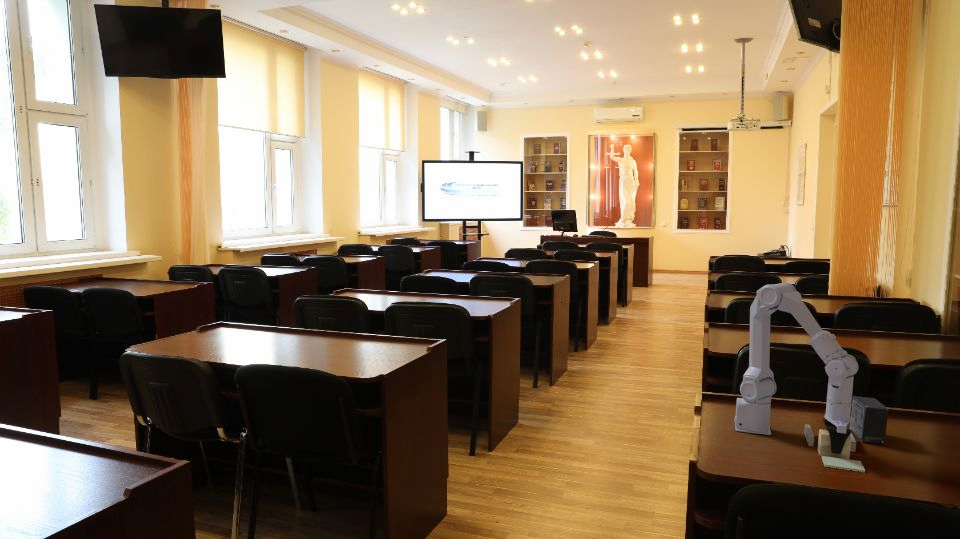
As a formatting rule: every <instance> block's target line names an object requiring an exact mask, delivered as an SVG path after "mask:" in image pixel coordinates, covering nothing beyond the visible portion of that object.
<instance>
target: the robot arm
mask: <svg viewBox="0 0 960 539" xmlns="http://www.w3.org/2000/svg"><path fill="white" fill-rule="evenodd" d="M777 310H778V311H781V312H786V313H789V314H791V315H792V316H793V317H794V319H795V320H796V321H797V323H798V324H799V325H800V326H801V327H802V329H803V330H804V331H805V332H806V333H807V334H808V335H809V337H810V338H809V344H810V345H811V347H812V348H813V349H814V351H815V353H816V354H817V355H818V356H819V358H820V359H821V360H822V361H823V363H824V364H825V366H824V370H825V373H826V374H827V376H828V383H827V393H826V405H825V407H826V408H825V413H824V418H823V419H822V421H823V423H824V425H825V428H826V429H825V430H828V432H829V436H830V444H831V451H832V453H835V454H841V452H842V450H843V447H844V444H845V442H846V440H847V438H848V437H849V436H850V434H851V433H852V432H851V430H849V428H848V429H847V427H848V425H850V422H855V419H854V418H853V417H851V411H852V398H853V390H854V389H853V388H854V375H856V374H857V373H858V371H859V363H858V360H857V359H856V357H855V356H853V355H851V354H848V352H847V350H844V349H843V348H842V346H841V345H840V344H839V342H838V341H837V340H836V339H837V336H836V335H835V334H834V333H831V332H830V331H828V330H823V329H822V327H821V326H820V324H819V323H818V322H817V320H816V319H815V317H814V316H813V314H812V312H811V311H810V309H809V308H808V307H807V305H806V304H805V302H804V301H803V298H802V295H801V293H800V292H799V291H798V290H797V289H796V287H795V286H794V285H793V284H792V283H791V282H790V283H789V282H787V281H785V282H780V283H775V284H773V283H771V284H766V285H763V286H762V287H760V288H759V289H758V290H756V296H755V297H754V300H753V301H752V302H751V305H750V308H749V346H748V347H749V355H748V356H749V357H748V361H749V362H748V368H747V369H746V370H745V372H744V374H743V375H742V382H741V384H740V385H739V392H740V395H741V396H742V397H737V398H736V404H735V416H734V419H733V420H734V421H733V422H734V426H735V431H736V432H742V433H752V434H758V435H759V434H760V435H766V436H771V435H772V431H771V427H770V418H771V417H770V416H771V405H772V404H771V402H772V396H774V394H776V392H777V384H776V382H775V378H774V374H775V373H774V372H773V371H772V369H771V367H770V352H771V350H770V349H771V346H770V345H771V315H772V314H773V313H775V312H776V311H777Z"/></svg>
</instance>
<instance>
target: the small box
mask: <svg viewBox="0 0 960 539" xmlns="http://www.w3.org/2000/svg"><path fill="white" fill-rule="evenodd" d="M888 416H889V408H888V407H887V406H885V405H884V404H882V403H881V402H880V401H879V400H878V399H876V398H874V397H865V396H858V395H857V396H856V395H852V402H851V413H850V417H853V418H854V419H855V422H850V423H849V428H848V430H851V433H852V435H853V436H855V437H856V439H858V440H859V442H861V443H867V444H876V445H877V444H878V445H885V443H886V436H887V426H888Z"/></svg>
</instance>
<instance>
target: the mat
mask: <svg viewBox="0 0 960 539" xmlns="http://www.w3.org/2000/svg"><path fill="white" fill-rule="evenodd" d="M821 460H822V463H823V465H824V467H825V468H829V467H830V468H831V469H836V468H837V470H843V469H844V471H850V470H852V471H851V472H858V471H859V473H866V469H865V467H864V465H863V463H862V461H860V460H855V459H849V460H848V459H841V458H834V457H827V456H821Z"/></svg>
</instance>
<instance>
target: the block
mask: <svg viewBox="0 0 960 539" xmlns="http://www.w3.org/2000/svg"><path fill="white" fill-rule="evenodd" d="M817 440H818V442H817V452H818V456H819V457H822V456H827V457H834V458H841V459H848V460H850V457H851V451H850V446H851V437H850V436H849V437H848V438H847V440H846V442H845V444H844V447H843V450H842V452H841V454H835V453H832V451H831V444H830V436H829V432H828V430H827V429H819V430H818V439H817Z"/></svg>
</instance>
